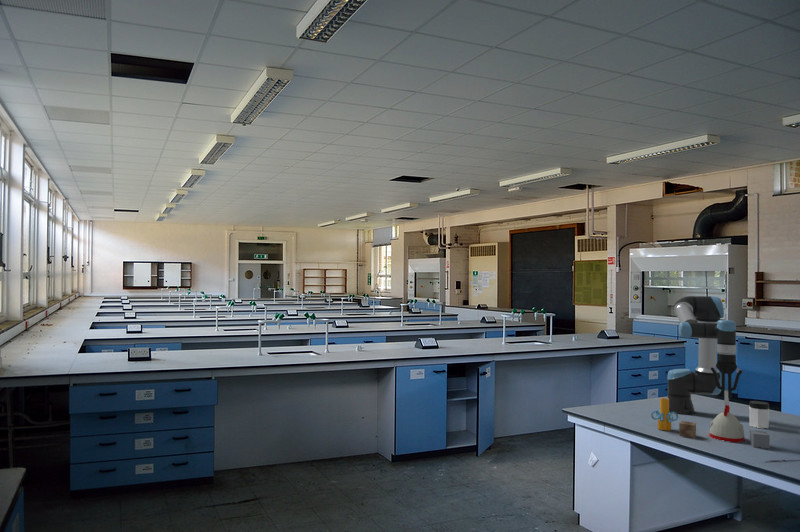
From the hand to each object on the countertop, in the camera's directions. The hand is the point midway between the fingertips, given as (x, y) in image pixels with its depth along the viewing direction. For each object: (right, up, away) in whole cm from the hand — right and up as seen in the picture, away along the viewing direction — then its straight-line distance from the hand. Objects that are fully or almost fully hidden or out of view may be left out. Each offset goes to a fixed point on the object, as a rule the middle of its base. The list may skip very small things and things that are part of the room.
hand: (726, 404), depth 253 cm
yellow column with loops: (-22, -16, +13) cm, 30 cm away
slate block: (+7, -15, -13) cm, 21 cm away
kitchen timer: (0, -15, 0) cm, 15 cm away
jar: (+29, -17, +21) cm, 40 cm away
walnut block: (-17, -15, +2) cm, 23 cm away
